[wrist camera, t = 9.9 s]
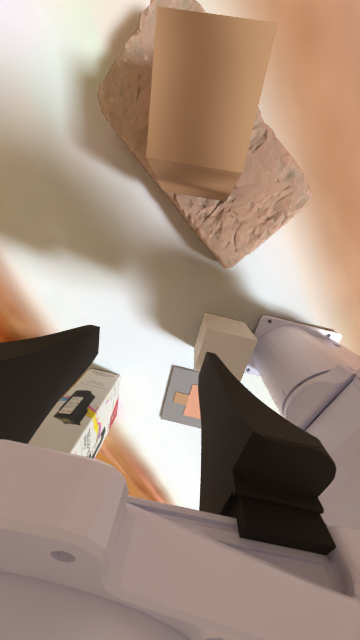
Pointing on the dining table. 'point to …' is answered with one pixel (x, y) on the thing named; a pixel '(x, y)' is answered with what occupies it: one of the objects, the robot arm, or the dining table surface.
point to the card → (183, 398)
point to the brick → (259, 169)
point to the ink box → (81, 416)
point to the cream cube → (225, 343)
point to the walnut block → (204, 99)
